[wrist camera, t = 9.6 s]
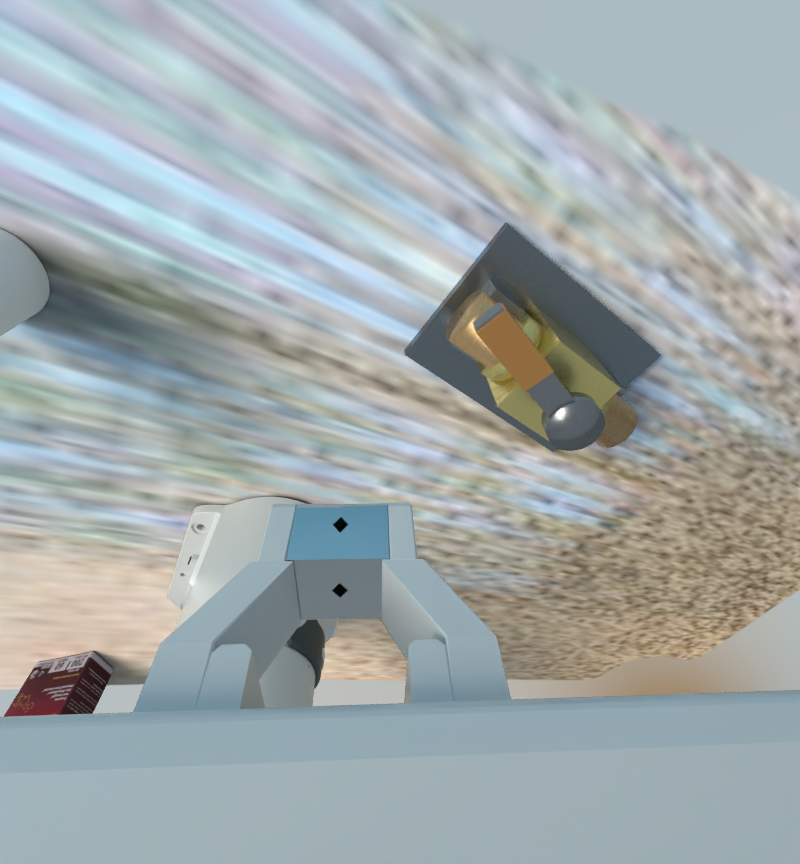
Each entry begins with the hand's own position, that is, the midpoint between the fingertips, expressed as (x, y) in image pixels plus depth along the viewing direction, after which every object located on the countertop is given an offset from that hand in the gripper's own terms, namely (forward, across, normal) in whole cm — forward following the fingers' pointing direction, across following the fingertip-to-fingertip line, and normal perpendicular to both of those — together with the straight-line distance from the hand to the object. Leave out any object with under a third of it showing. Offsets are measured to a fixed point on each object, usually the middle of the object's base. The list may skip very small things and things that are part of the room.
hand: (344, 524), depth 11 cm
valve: (+28, -14, +9) cm, 33 cm away
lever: (+19, -11, +6) cm, 22 cm away
